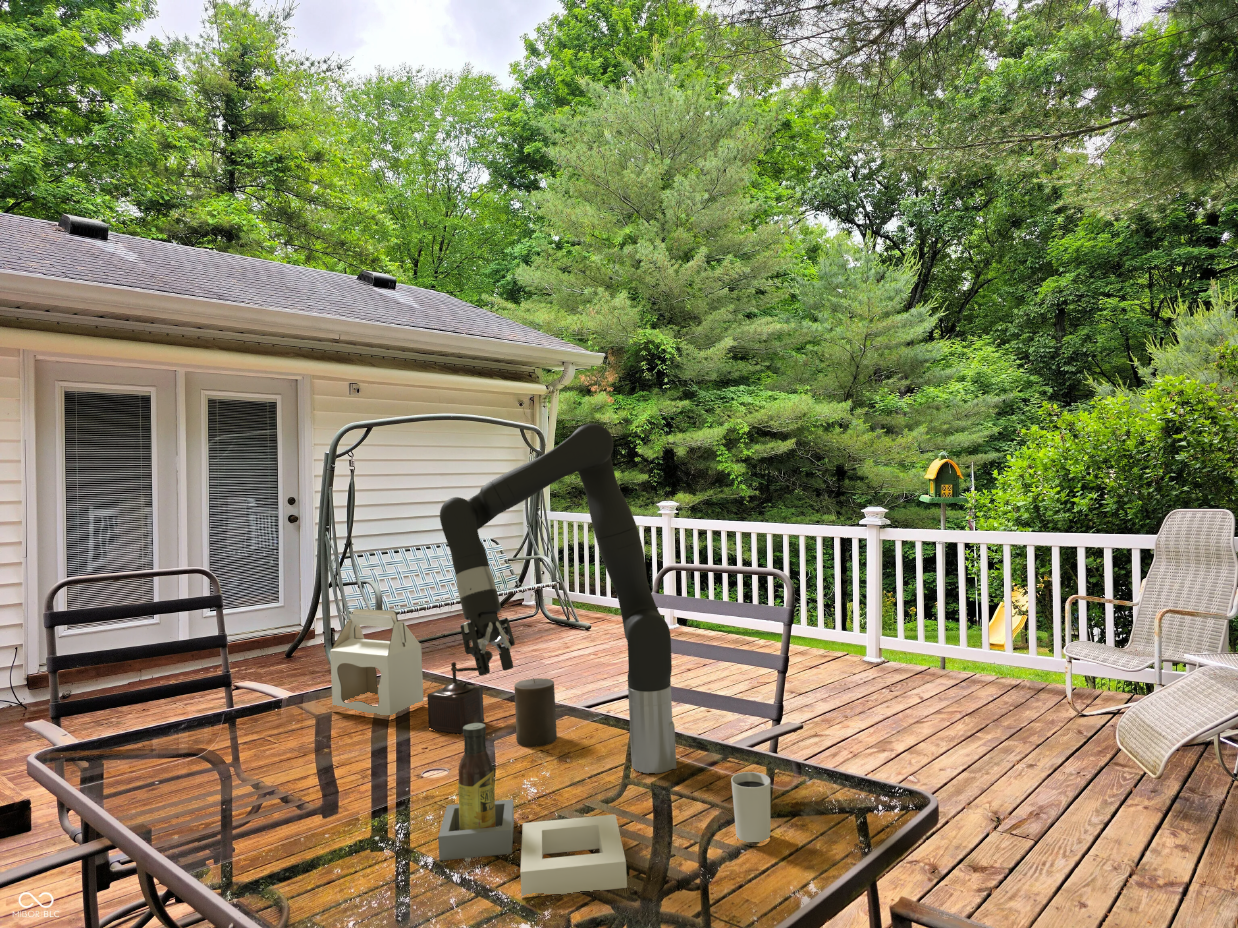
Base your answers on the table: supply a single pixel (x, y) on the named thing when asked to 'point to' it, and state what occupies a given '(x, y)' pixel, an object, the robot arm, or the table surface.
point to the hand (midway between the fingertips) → (497, 671)
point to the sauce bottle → (476, 781)
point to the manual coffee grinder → (456, 704)
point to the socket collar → (572, 870)
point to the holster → (476, 834)
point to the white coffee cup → (751, 806)
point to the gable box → (376, 664)
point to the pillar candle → (535, 712)
